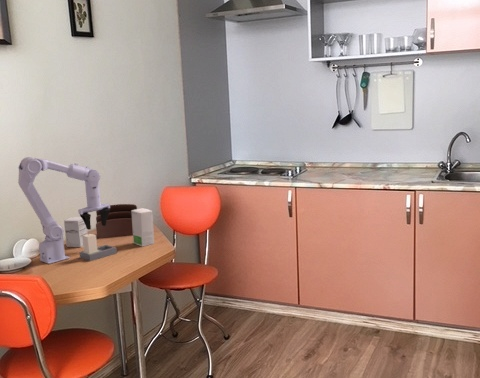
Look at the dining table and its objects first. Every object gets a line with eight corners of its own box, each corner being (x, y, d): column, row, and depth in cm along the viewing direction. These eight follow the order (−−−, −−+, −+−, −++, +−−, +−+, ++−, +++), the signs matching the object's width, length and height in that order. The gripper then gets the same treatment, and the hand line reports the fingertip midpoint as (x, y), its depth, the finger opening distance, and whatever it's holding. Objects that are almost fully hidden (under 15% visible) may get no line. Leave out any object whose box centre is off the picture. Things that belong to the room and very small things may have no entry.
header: (90, 261, 222) (89, 254, 221) (80, 257, 227) (79, 251, 227) (117, 253, 231) (116, 247, 231) (106, 250, 236) (105, 244, 236)
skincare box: (133, 243, 245) (130, 210, 242) (145, 240, 249) (142, 207, 246) (143, 247, 238) (139, 212, 236) (155, 243, 243) (152, 209, 240)
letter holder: (98, 233, 267) (95, 206, 264) (139, 229, 270) (136, 202, 268) (97, 238, 257) (94, 210, 255) (139, 234, 261) (136, 206, 258)
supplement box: (66, 247, 245) (63, 220, 242) (74, 242, 252) (71, 216, 249) (80, 247, 243) (77, 220, 241) (89, 243, 250) (86, 216, 248)
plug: (89, 253, 223) (87, 237, 222) (84, 251, 226) (82, 235, 225) (97, 251, 226) (96, 234, 225) (92, 249, 229) (90, 233, 228)
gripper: (83, 200, 225) (86, 232, 227) (112, 194, 235) (115, 224, 238) (74, 199, 230) (77, 229, 232) (103, 193, 240) (106, 222, 242)
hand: (96, 227), depth 235 cm, fingers open, 7 cm apart
